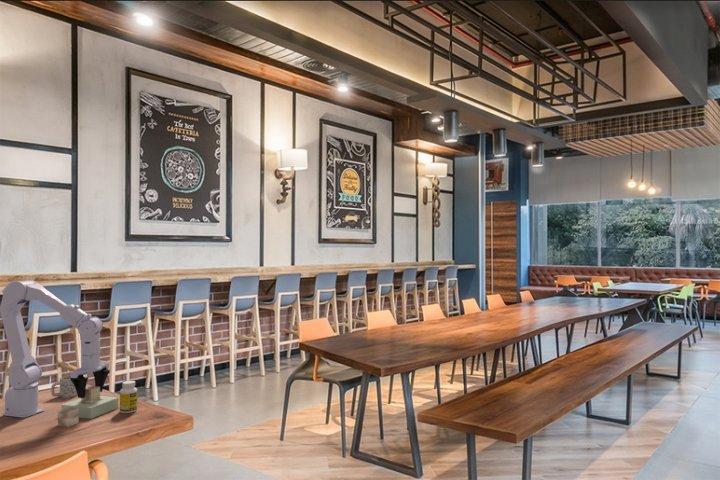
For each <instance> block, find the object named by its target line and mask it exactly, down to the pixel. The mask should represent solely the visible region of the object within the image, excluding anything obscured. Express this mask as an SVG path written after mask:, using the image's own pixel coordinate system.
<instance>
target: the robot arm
mask: <svg viewBox="0 0 720 480" xmlns="http://www.w3.org/2000/svg"><path fill="white" fill-rule="evenodd" d="M1 291H2V298H1V302H0V315H1V320H2V324H3V329H4V331H5V336H6V337H5V338H6V341H7V345H8V349H9V352H10V353H9V354H10V357H11V362H10V364H9V367H8V371H9V375H8V384H9V386H10V387H9V388H8V389H6V391H5V395H4V413H2V414H1V415H2V416H6V417H14V418H22V419H24V418H28V417H30V416H33V415H37V414H40V413H43V412H44V411H45V409H44V408H39V380H40V379H41V377H42V375H43V370H42V368H41V366H40V365H39V364H38V361H37V359H36V358H35V357H34V356H33V355H31V354H32V353H31V349H30V346H29V341H28V336H27V333H26V328H25V324H24V319H23V317H22V312H21V310H22V309H23V307H24V306H25V304H27V302H29V301H39V302H40V303H42V304H44V305H46V306H47V307H49V308H51V309H52V310H54V311H55V312H57V313H59V316H60V317H59V318H60V320H63V321H64V322H66V323H67V324H69V325H70V326H72V327H73V328H75V329H77V331H78V334H79V335H80V338H81V339H80V367H79V368H77V369H75V370H72V371H70V376H71V377H70V380H71V381H72V383H73V384H74V386H75V388H76V391H77V395H78V396H77V399H79V398H85V391H86V387H87V384H88V380H89V377H87V376H85V375H88V374H93V378H94V386H98V387H100V393H102V392H103V389H104V385H105V383H106V380H107V379H108V378H107V377H108V376H109V374H110V369H109V368H110V362H101V331H102V330H103V327H104V325H103V322H102V320H101V319H100V318H99V317H98V316H92V314H91V313H87V312H85V310H83V309H81V308H80V305H78V304H76V305H75V304H71V303H70V304H67V303H65V302H64V301H63V300H61V299H59V298H58V297H57V296H55V295H54V294H53V293H52V292H50V291H49V290H47V288H45V287H44V286H43V285H42V284H40V283H37V282H36V281H35V280H32V279H25V280H19V281H18V280H15V281H11V282H9V283H8V284H7V285H6V286H5V287H4V288H3V290H1Z"/></svg>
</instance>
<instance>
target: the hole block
mask: <svg viewBox="0 0 720 480" xmlns="http://www.w3.org/2000/svg"><path fill="white" fill-rule="evenodd" d="M68 407H70V408H79V419H80V418H82V419H89V420H91V419H94V418H96V417H99V416H102V415H105V414H106V413H110V412H112V411H113V410H117V409H118V408H119V397H115V396H106V395H100V401H98V402H95V403H93V404H84V403H81V398H76V399H74V400H71V401H68V402H65V403H63V404H61V410H63V409H65V408H68Z"/></svg>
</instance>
